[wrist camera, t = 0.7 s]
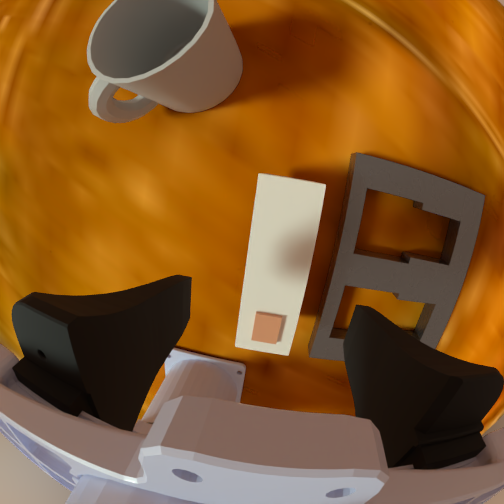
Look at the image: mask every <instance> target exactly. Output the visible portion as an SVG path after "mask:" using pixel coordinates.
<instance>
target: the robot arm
mask: <svg viewBox="0 0 504 504" xmlns="http://www.w3.org/2000/svg"><path fill="white" fill-rule="evenodd" d="M191 280H192V277H187V276H182V275H174V276H170V277H167V278H164V279H161V280H158V281H155V282H152V283H149V284H145V285H142V286H138V287H135V288H131V289H128V290H123V291H119V292H113V293H107V294H97V295H85V296H68V295H54V294H46V293H38V292H33V293H31V294H29V295H27V296H26V297H24V298H23V299H21V300H19V301H18V302H16V303H15V304H14V306H13V309H12V322H13V326H14V329H15V332H16V335H17V338H18V341H19V344H20V347H21V349H22V352H23V354H24V356H25V357H24V358H22V359H21V360H20V361H19V360H18V358H17V357H16V356H15V355H14V354H13V353H12V352H11V351H9V350H8V349H7V348H6V347H4V346H3V345H2V344H0V432H1V433H2V434H3V435H4V436H5V437H6V438H7V439H8V440H9V441H10V442H11V443H12V444H13V445H14V446H15V447H16V448H17V449H19V450H20V451H21V452H22V453H23V454H24V455H25V456H26V457H27V458H29V459H30V460H31V461H32V462H33V463H34V464H36V465H37V466H38V467H39V468H40V469H42V470H43V471H44V472H45V473H47V474H48V475H49V476H51V477H52V478H53V479H55V480H56V481H57V482H59V483H60V484H62V485H63V486H64V487H66V488H67V489H69V490H70V491H72V492H71V494H70V496H69V497H68V499H67V501H66V502H65V504H484V503H485V502H487V501H488V500H489V499H491V498H492V497H493V496H495V495H496V494H497V493H499V492H500V491H501V490H502V489H504V428H501V429H498V430H496V431H493V432H490V433H489V434H487V435H485V436H484V437H483V438H482V436H481V434H480V431H482V430H483V428H484V426H483V424H482V422H481V420H482V419H483V418H484V417H485V416H486V414H487V413H488V412H489V410H490V409H491V408H492V406H493V405H494V404H495V402H496V401H497V399H498V398H499V396H500V394H501V392H502V389H503V385H504V379H503V376H502V375H501V374H500V373H499V371H498V370H497V369H496V368H494V367H488V366H483V365H478V364H474V363H470V362H467V361H463V360H460V359H457V358H454V357H452V356H449V355H447V354H444V353H442V352H440V351H438V350H435V349H433V348H431V347H430V346H428V345H426V344H424V343H422V342H421V341H419V340H417V339H416V338H414V337H413V336H411V335H410V334H408V333H407V332H405V331H404V330H402V329H401V328H399V327H398V326H397V325H395V324H394V323H393V322H391V321H390V320H389V319H387V318H386V317H384V316H383V315H382V314H380V313H379V312H378V311H376V310H375V309H373V308H371V307H369V306H362V305H356V307H355V310H354V313H353V316H352V319H351V322H350V325H349V328H348V331H347V333H346V336H345V339H344V342H343V349H344V360H345V365H346V369H347V374H348V378H349V382H350V386H351V390H352V395H353V399H354V405H355V414H356V417H354V416H349V415H344V414H324V413H310V412H299V411H290V410H281V409H274V408H267V407H260V406H254V405H248V404H243V403H240V399H241V394H242V388H243V382H244V377H245V371H246V366H245V365H244V364H243V363H239V362H233V361H229V360H224V359H219V358H215V357H210V356H206V355H202V354H197V353H193V352H189V351H186V350H182V349H178V348H174V347H175V345H176V344H177V342H178V340H179V339H180V337H181V336H182V334H183V332H184V330H185V328H186V326H187V323H188V321H189V319H190V303H191ZM169 354H170V355H171V356H170V355H169ZM164 362H165V374H166V378H165V379H164V381H163V383H162V385H161V386H160V388H159V390H158V392H157V393H156V395H155V397H154V399H153V400H152V402H151V404H150V406H149V407H148V409H147V411H146V413H145V414H144V416H143V418H142V420H138V421H137V418H138V415H139V413H140V410H141V408H142V405H143V403H144V401H145V398H146V396H147V394H148V391H149V389H150V387H151V385H152V383H153V381H154V379H155V377H156V375H157V373H158V371H159V369H160V368H161V366H162V365H163V363H164ZM238 371H241V372H238ZM136 421H137V423H136ZM135 423H136V424H135Z"/></svg>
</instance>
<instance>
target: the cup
mask: <svg viewBox="0 0 504 504" xmlns="http://www.w3.org/2000/svg"><path fill="white" fill-rule="evenodd" d="M87 59H88V64H89V66H90V68H91V70H92V72H93V73H94V74H95V75H96V76H97V77H96V79H95V80H94V82H93V84H92V86H91V88H90V90H89V108H90V110H91V111H92V113H93V114H94V115H95V116H97V117H99V118H101V119H103V120H105V121H108V122H113V123H125V122H129V121H133V120H136V119H138V118H140V117H142V116H144V115H145V114H147V113H148V112H149V111H151V110H152V109H153V108H155V107H156V106H157V105H158V104H161V105H163V106H166V107H168V108H170V109H172V110H175V111H178V112H186V113H193V112H201V111H204V110H207V109H210V108H212V107H214V106H216V105H218V104H219V103H221V102H222V101H224V100H225V99H226V98H227V97H228V96H229V95H230V94H231V93H232V92H233V91H234V89H235V88H236V86H237V85H238V83H239V81H240V78H241V75H242V71H243V60H242V56H241V53H240V50H239V48H238V45H237V43H236V41H235V38H234V36H233V34H232V32H231V30H230V28H229V25H228V23H227V21H226V19H225V17H224V15H223V13H222V11H221V9H220V7H219V5H218V3H217V1H216V0H114V1H113V2H112V3H111V4H110V6H109V7H108V8H107V9H106V10H105V11H104V12H103V14H102V15H101V16H100V18H99V19H98V21H97V22H96V24H95V26H94V28H93V30H92V33H91V35H90V37H89V42H88V47H87ZM120 87H122V88H124V89H127V90H129V91H132V92H134V93H136V94H138V95H139V96H137V97H136V98H134V99H132V100H127V101H120V100H116V99H115V98H113V96H114V94H115V92H116V91H117V90H118V89H119V88H120Z"/></svg>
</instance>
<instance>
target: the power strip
mask: <svg viewBox="0 0 504 504" xmlns="http://www.w3.org/2000/svg"><path fill="white" fill-rule="evenodd" d="M325 189H326V185H325V184H322V183H319V182H314V181H308V180H303V179H297V178H291V177H285V176H279V175H272V174H265V173H259V175H258V182H257V189H256V196H255V203H254V211H253V218H252V225H251V232H250V239H249V247H248V254H247V261H246V268H245V276H244V283H243V290H242V298H241V305H240V312H239V320H238V327H237V335H236V342H235V347H240V348H245V349H250V350H256V351H262V352H268V353H274V354H280V355H287V356H289V352H290V348H291V345H292V341H293V337H294V333H295V330H296V326H297V322H298V318H299V314H300V310H301V306H302V301H303V297H304V293H305V289H306V284H307V280H308V276H309V271H310V267H311V262H312V257H313V252H314V248H315V243H316V238H317V233H318V228H319V222H320V217H321V212H322V206H323V200H324V195H325Z"/></svg>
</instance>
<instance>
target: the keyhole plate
mask: <svg viewBox="0 0 504 504" xmlns="http://www.w3.org/2000/svg"><path fill="white" fill-rule="evenodd" d="M367 188H369V189H373V190H377V191H381V192H385V193H389V194H393V195H396V196H400V197H404V198H407V199H411V200H414V204H413V207H415V208H418V209H421V210H425V211H428V212H431V213H435V214H438V215H441V216H445V217H448V218H450V223H449V227H448V231H447V236H446V240H445V243H444V247H443V251H442V254H441V258H440V259H436V258H432V257H427V256H423V255H418V254H413V253H408V252H402V255H401V257H397V256H392V255H387V254H381V253H376V252H371V251H366V250H360V249H355V244H356V240H357V236H358V231H359V227H360V222H361V217H362V212H363V207H364V202H365V196H366V191H367ZM484 199H485V195H482V194H480V193H478V192H475V191H473V190H471V189H468V188H466V187H464V186H461V185H459V184H456V183H453V182H451V181H448V180H446V179H443V178H440V177H437V176H435V175H432V174H429V173H426V172H423V171H420V170H417V169H414V168H411V167H408V166H404V165H401V164H398V163H394V162H391V161H387V160H384V159H380V158H376V157H373V156H369V155H365V154H361V153H353V154H351V158H350V165H349V172H348V178H347V184H346V190H345V196H344V201H343V207H342V212H341V217H340V222H339V227H338V232H337V237H336V241H335V246H334V250H333V255H332V259H331V263H330V268H329V272H328V276H327V280H326V284H325V288H324V292H323V296H322V299H321V303H320V307H319V310H318V314H317V318H316V321H315V325H314V328H313V331H312V335H311V338H310V341H309V345H308V351H309V357H312V358H320V359H329V360H339V361H345V360H344V349H343V342H344V339H345V336H346V333H347V331H348V330H347V329H339V328H332V327H333V324H334V321H335V318H336V315H337V311H338V308H339V305H340V301H341V298H342V294H343V291H344V287H345V285H347V286H354V287H360V288H367V289H373V290H380V291H387V292H392V293H393V294H394V295H395V297H396V298H397V299H399V300H407V301H414V302H422V303H425V305H424V308H423V310H422V313H421V315H420V318H419V320H418V323H417V325H416V327H415V330H414V331H406V330H404V331H405V332H407V333H408V334H410V335H411V336H413V337H414V338H416V339H417V340H419V341H421V342H422V343H424V344H426V345H428V346H430V347H431V348H433V349H435V348H436V346H437V344H438V342H439V340H440V338H441V336H442V334H443V332H444V329H445V327H446V325H447V323H448V320H449V318H450V316H451V313H452V311H453V309H454V306H455V304H456V301H457V298H458V296H459V293H460V290H461V288H462V285H463V282H464V279H465V276H466V273H467V270H468V267H469V263H470V260H471V257H472V253H473V250H474V246H475V242H476V238H477V234H478V230H479V225H480V221H481V216H482V211H483V205H484Z"/></svg>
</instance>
